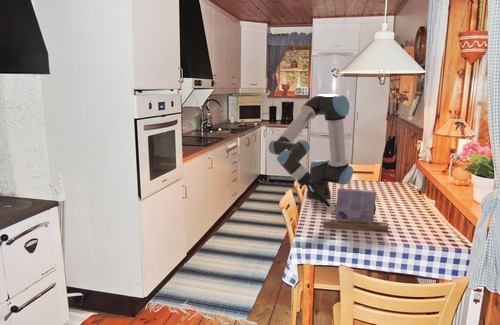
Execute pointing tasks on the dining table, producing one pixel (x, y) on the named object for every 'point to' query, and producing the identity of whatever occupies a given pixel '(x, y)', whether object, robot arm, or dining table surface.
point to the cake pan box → (355, 205)
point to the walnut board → (355, 225)
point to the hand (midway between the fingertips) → (333, 210)
